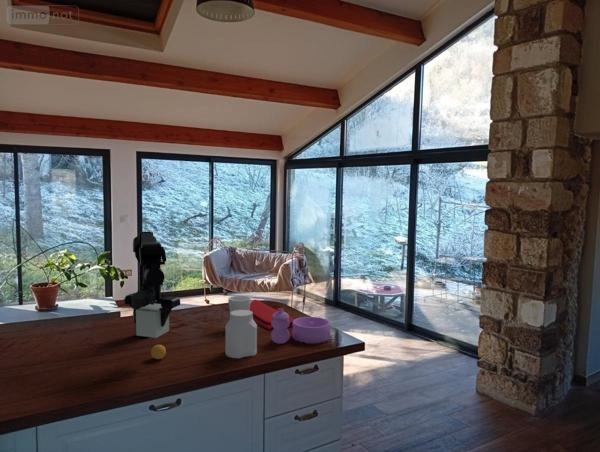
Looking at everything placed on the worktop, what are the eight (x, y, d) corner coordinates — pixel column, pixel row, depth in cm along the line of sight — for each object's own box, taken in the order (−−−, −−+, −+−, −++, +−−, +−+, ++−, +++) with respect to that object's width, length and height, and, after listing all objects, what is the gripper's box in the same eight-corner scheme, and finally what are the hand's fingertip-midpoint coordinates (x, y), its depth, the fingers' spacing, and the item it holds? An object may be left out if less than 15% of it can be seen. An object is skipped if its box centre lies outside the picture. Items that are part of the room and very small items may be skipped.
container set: (319, 329, 195) (319, 299, 194) (336, 340, 182) (337, 308, 181) (264, 337, 185) (264, 305, 184) (278, 349, 171) (279, 315, 170)
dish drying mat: (269, 332, 192) (269, 323, 192) (229, 309, 227) (229, 302, 226) (300, 326, 201) (300, 318, 200) (258, 305, 235) (258, 298, 235)
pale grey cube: (136, 335, 153) (135, 309, 153) (150, 328, 161) (149, 304, 160) (156, 337, 151) (155, 312, 150) (169, 330, 158) (168, 306, 158)
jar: (231, 359, 159) (231, 318, 158) (221, 351, 168) (221, 311, 166) (261, 354, 165) (261, 313, 164) (250, 346, 173) (250, 307, 172)
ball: (154, 340, 161) (157, 351, 163) (146, 350, 157) (150, 361, 159) (166, 342, 160) (169, 353, 162) (159, 352, 155) (162, 363, 158)
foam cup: (246, 332, 190) (246, 301, 189) (225, 330, 192) (225, 300, 191) (253, 325, 200) (253, 296, 199) (233, 323, 202) (233, 295, 200)
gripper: (112, 282, 149) (113, 329, 150) (161, 287, 144) (162, 335, 145) (134, 276, 160) (135, 320, 161) (181, 280, 154) (181, 325, 156)
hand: (152, 325), depth 155 cm, fingers closed on pale grey cube, 8 cm apart
